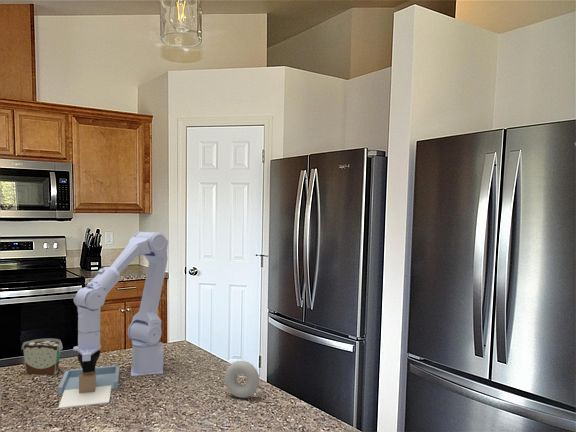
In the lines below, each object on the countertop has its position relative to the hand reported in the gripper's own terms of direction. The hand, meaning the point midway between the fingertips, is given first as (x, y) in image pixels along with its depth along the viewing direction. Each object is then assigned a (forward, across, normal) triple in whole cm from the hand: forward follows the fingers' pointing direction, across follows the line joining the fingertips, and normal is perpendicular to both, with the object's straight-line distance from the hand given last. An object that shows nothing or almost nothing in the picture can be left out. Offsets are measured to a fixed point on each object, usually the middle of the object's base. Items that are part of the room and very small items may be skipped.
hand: (89, 378), depth 128 cm
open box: (+3, -5, 0) cm, 6 cm away
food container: (+4, -19, -14) cm, 24 cm away
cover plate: (+3, +6, 0) cm, 7 cm away
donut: (+4, +17, +40) cm, 44 cm away
